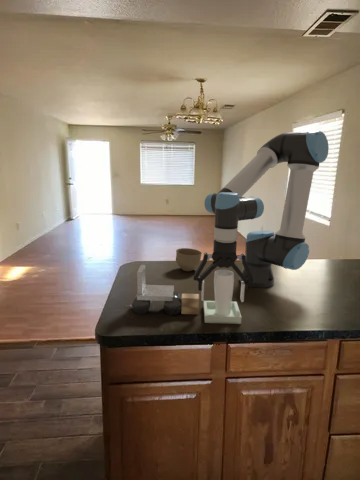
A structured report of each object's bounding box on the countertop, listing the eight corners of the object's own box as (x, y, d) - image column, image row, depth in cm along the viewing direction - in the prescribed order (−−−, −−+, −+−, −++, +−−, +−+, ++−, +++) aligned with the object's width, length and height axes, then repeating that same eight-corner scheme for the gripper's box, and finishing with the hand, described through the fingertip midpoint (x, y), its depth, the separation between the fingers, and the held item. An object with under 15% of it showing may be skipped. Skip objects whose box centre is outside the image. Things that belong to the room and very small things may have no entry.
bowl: (201, 274, 150) (202, 254, 148) (175, 274, 150) (175, 254, 148) (200, 266, 162) (201, 247, 160) (175, 265, 162) (176, 247, 160)
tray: (236, 307, 116) (236, 301, 115) (241, 324, 104) (241, 317, 103) (203, 306, 116) (203, 300, 116) (204, 322, 104) (205, 315, 104)
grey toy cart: (181, 304, 117) (182, 265, 114) (180, 317, 108) (181, 274, 104) (136, 303, 118) (135, 263, 114) (131, 315, 108) (130, 272, 104)
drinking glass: (220, 319, 105) (221, 276, 102) (209, 311, 111) (210, 271, 108) (236, 315, 109) (238, 273, 105) (225, 308, 114) (226, 268, 111)
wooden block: (198, 309, 114) (198, 293, 113) (198, 314, 110) (199, 298, 109) (181, 308, 114) (181, 293, 113) (181, 314, 110) (181, 298, 109)
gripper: (260, 238, 107) (256, 296, 112) (187, 236, 108) (186, 294, 113) (266, 243, 100) (260, 305, 105) (187, 241, 101) (185, 303, 105)
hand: (222, 299), depth 109 cm, fingers open, 13 cm apart
